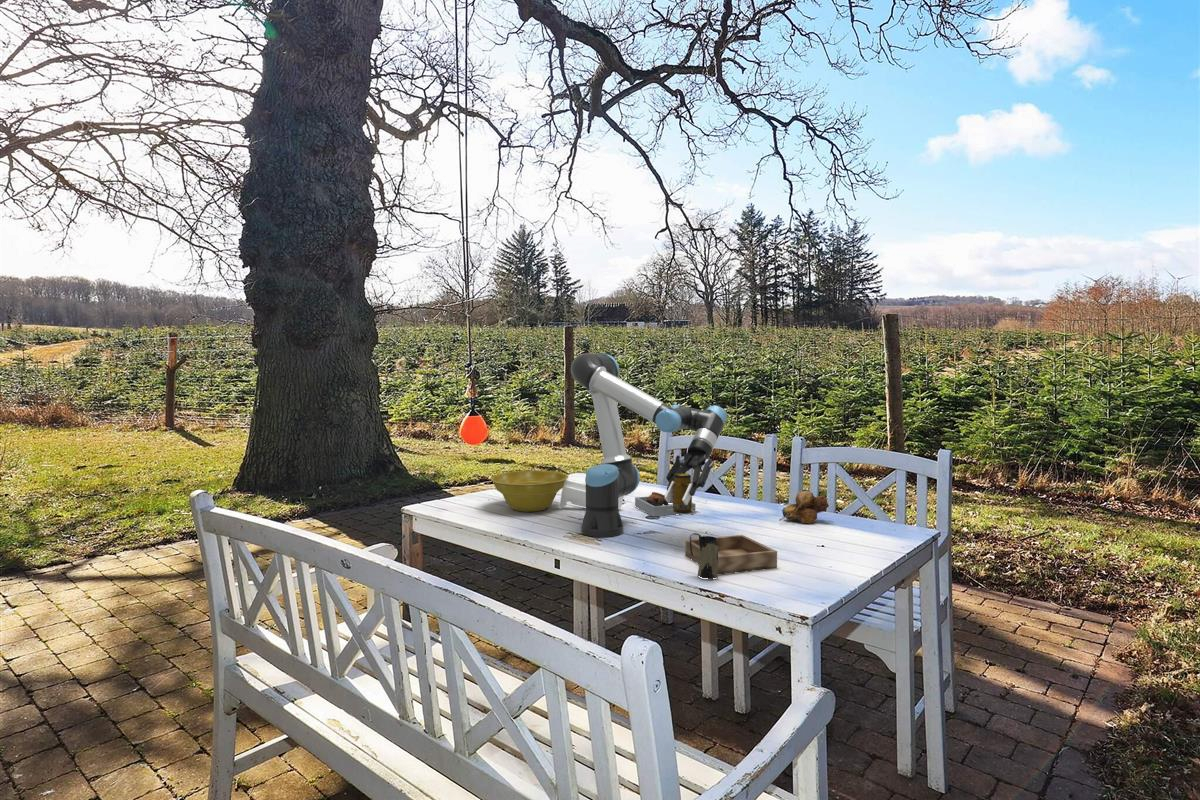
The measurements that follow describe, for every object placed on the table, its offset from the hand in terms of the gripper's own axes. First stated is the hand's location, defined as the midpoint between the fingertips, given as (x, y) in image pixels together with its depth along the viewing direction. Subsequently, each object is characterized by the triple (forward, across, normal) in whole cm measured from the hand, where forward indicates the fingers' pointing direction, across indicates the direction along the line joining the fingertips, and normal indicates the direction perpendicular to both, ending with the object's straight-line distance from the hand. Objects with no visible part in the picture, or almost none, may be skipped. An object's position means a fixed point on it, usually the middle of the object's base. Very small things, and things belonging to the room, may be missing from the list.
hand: (675, 501), depth 216 cm
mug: (+24, -21, +1) cm, 32 cm away
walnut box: (+12, -20, -10) cm, 25 cm away
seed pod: (-33, -17, -56) cm, 67 cm away
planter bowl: (+1, +81, -23) cm, 85 cm away
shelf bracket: (-9, +60, -33) cm, 68 cm away
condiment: (0, -1, -6) cm, 6 cm away
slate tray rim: (-22, +35, -44) cm, 61 cm away
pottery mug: (-20, +38, -44) cm, 61 cm away
